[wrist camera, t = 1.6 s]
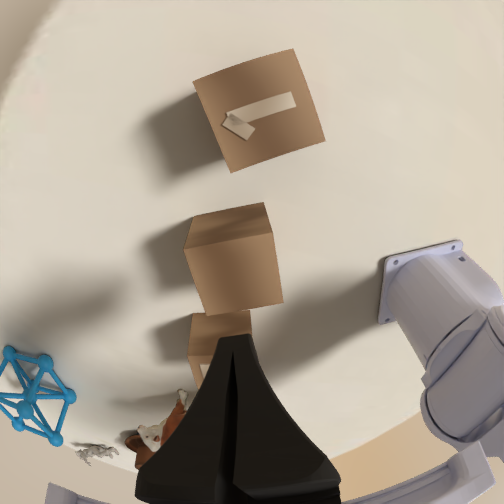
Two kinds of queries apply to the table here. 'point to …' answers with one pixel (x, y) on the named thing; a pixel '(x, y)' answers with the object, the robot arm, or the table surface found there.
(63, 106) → the table surface
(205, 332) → the cube seven
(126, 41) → the table surface
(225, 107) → the cube one
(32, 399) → the molecular structure
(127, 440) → the cup and saucer
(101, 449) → the soldier figure
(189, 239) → the plain cube
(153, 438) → the bull figurine
